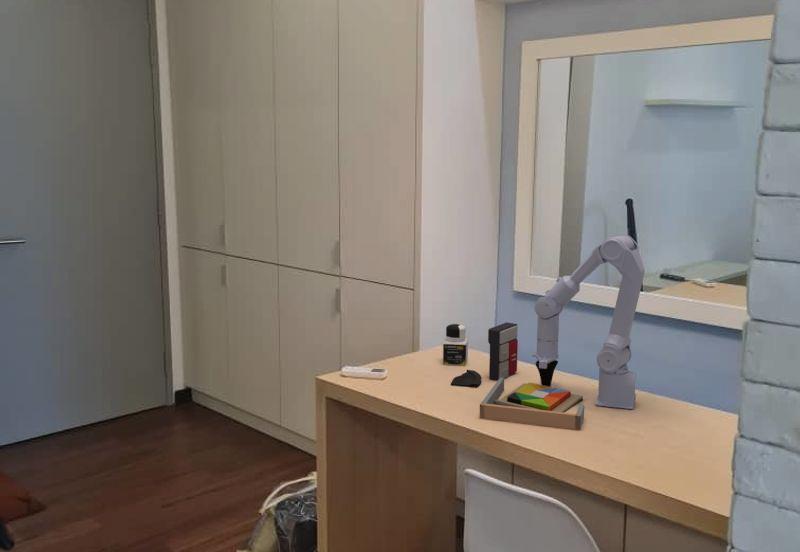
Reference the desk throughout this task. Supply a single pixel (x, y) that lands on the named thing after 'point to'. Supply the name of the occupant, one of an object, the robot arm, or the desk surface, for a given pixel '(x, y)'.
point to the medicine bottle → (455, 346)
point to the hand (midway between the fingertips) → (546, 386)
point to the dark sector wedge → (467, 379)
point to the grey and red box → (503, 350)
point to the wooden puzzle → (539, 398)
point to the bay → (527, 412)
